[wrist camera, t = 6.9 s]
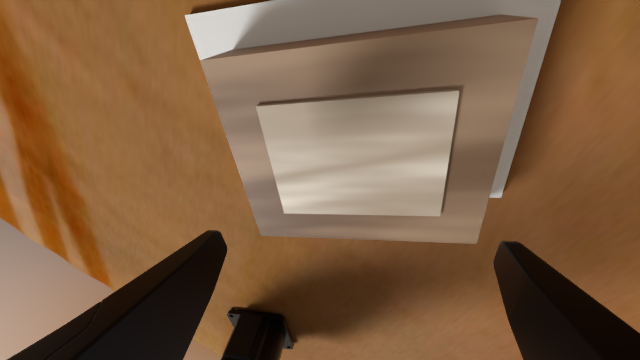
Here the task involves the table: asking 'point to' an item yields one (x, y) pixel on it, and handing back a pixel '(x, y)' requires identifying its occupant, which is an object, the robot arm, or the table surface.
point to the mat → (372, 15)
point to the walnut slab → (373, 127)
